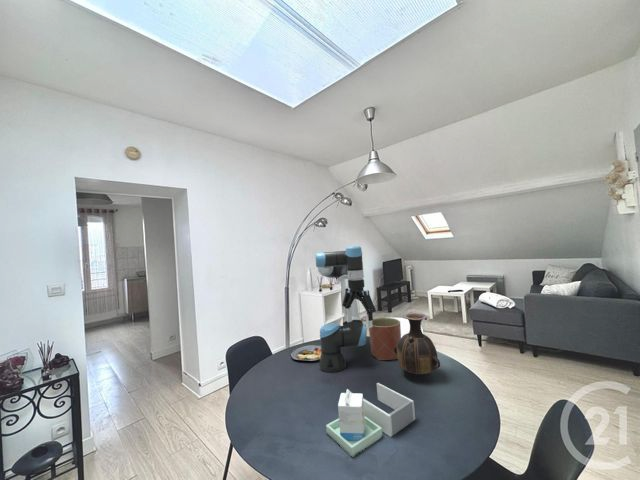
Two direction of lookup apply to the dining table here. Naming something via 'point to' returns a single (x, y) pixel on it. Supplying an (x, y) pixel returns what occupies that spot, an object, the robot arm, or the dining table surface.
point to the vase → (416, 348)
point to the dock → (395, 419)
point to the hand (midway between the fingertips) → (359, 324)
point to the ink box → (351, 416)
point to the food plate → (307, 353)
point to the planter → (384, 338)
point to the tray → (354, 447)
